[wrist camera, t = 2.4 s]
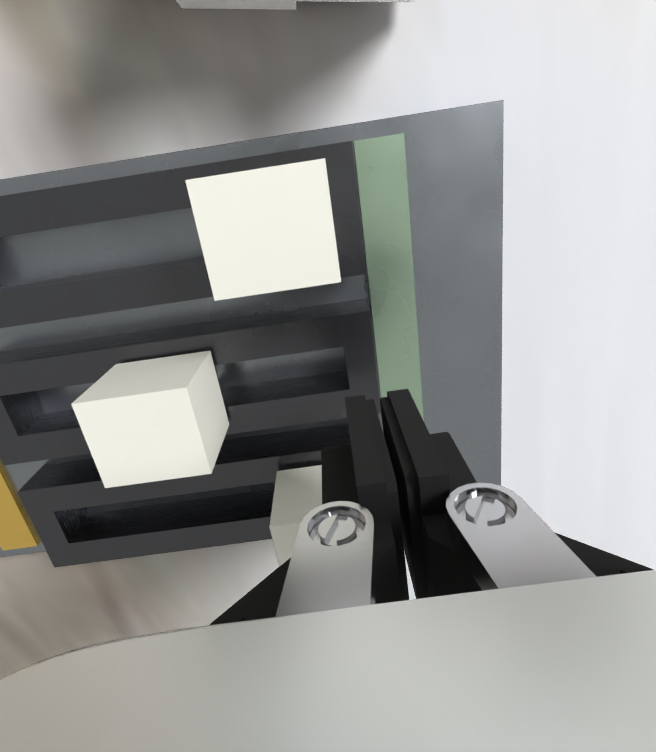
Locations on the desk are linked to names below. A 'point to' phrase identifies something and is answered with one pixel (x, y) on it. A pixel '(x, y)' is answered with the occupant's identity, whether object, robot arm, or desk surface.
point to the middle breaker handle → (154, 419)
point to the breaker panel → (246, 325)
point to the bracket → (257, 3)
